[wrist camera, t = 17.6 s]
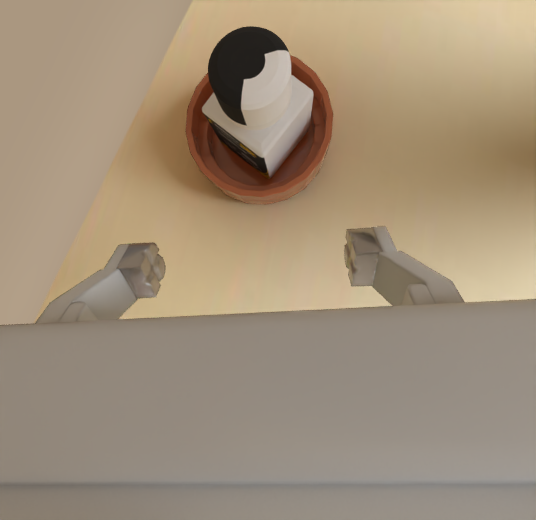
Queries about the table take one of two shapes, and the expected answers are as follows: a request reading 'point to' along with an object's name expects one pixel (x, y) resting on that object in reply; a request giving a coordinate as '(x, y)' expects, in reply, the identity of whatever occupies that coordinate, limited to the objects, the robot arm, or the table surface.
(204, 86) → the bowl
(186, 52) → the table surface
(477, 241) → the table surface
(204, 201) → the table surface
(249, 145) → the medicine bottle
